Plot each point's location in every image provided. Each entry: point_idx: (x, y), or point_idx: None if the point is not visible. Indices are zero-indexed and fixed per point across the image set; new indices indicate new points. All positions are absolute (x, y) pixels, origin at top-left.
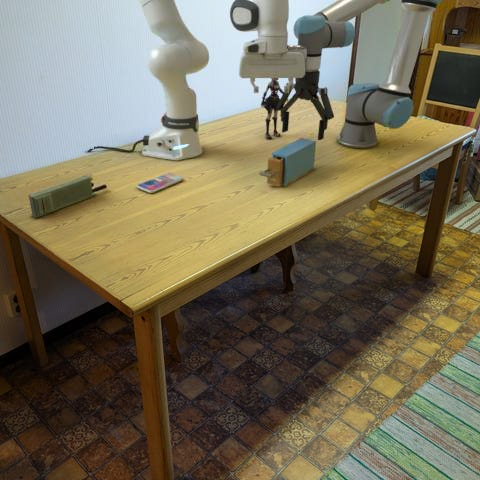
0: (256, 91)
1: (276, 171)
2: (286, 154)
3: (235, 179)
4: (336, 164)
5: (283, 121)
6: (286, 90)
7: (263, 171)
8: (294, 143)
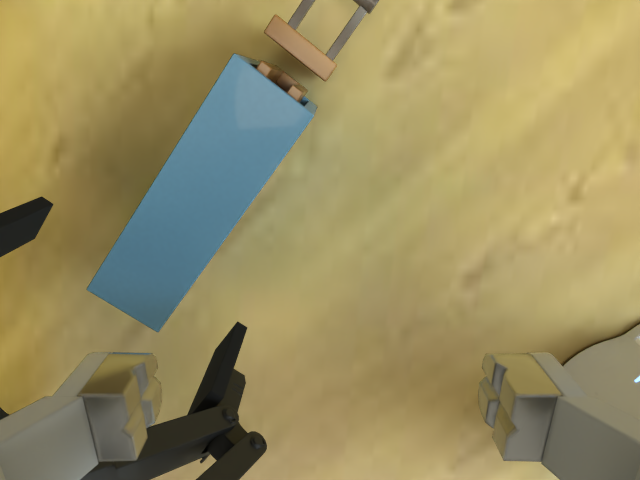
0: (522, 359)
1: (297, 18)
2: (237, 84)
3: (454, 139)
4: (59, 288)
5: (230, 359)
6: (114, 365)
7: (361, 16)
8: (192, 255)
